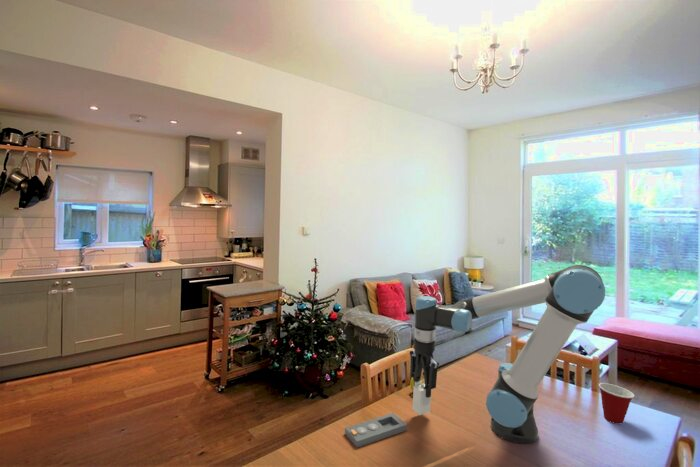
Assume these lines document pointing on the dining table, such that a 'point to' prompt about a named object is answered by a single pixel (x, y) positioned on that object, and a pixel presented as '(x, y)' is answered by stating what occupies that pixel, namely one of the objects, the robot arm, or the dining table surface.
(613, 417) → the plastic cup
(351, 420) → the dining table surface
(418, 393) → the block
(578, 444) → the dining table surface
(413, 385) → the lemon
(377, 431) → the power strip
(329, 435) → the dining table surface
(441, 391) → the dining table surface
